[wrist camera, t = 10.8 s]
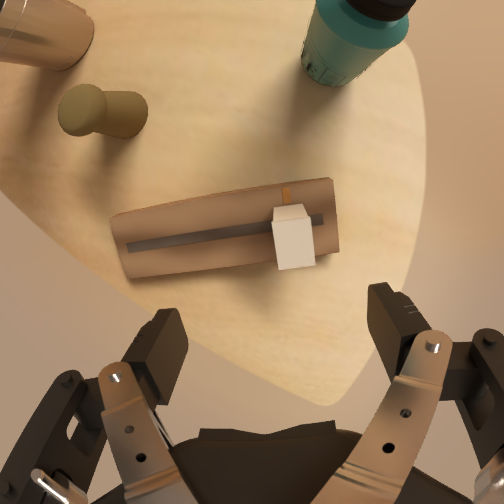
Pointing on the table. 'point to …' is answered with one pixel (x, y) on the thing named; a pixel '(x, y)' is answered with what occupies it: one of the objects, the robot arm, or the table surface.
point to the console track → (220, 228)
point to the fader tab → (293, 237)
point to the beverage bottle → (351, 36)
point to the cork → (102, 112)
